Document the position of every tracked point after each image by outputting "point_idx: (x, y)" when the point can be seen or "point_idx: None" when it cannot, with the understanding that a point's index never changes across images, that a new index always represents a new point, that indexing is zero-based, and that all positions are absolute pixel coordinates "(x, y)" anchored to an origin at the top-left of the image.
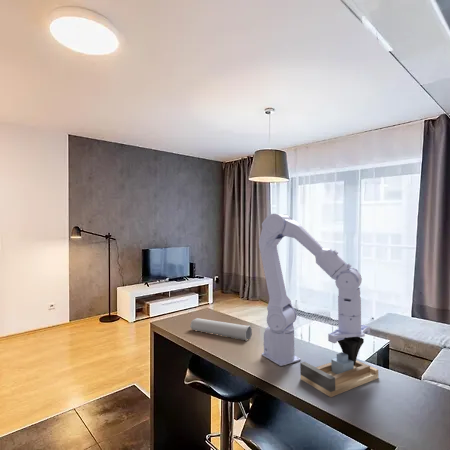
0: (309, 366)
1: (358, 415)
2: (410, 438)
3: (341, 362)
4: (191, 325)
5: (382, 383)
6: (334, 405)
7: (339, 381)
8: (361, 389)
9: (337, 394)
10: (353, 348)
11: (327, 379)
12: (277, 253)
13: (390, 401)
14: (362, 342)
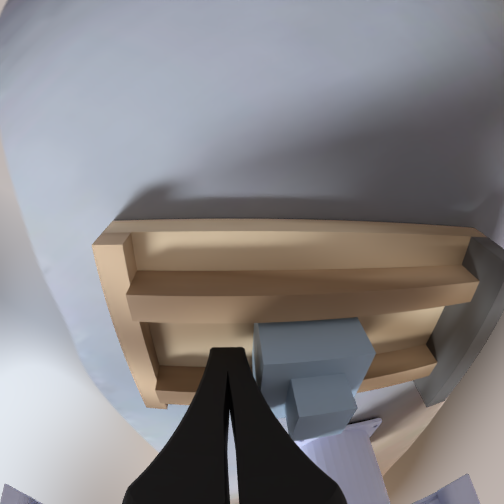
0: (457, 376)
1: (498, 96)
2: None
3: (348, 376)
4: None
5: (146, 164)
6: (500, 187)
7: (421, 272)
8: (331, 187)
9: (448, 226)
10: (285, 460)
11: None
12: None
13: (312, 20)
14: (151, 495)
